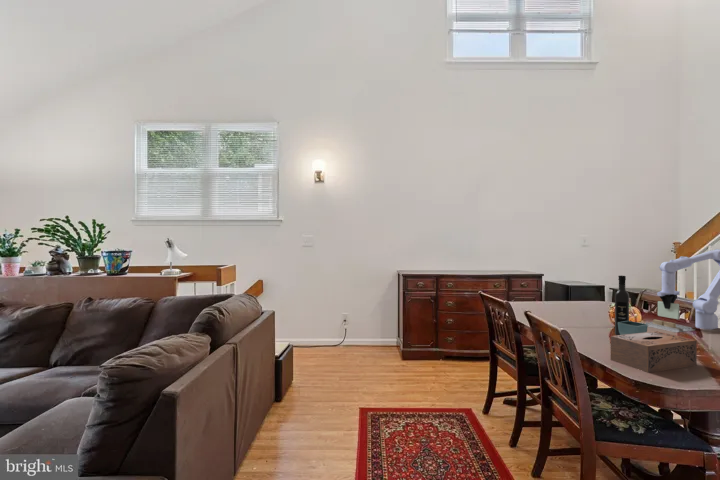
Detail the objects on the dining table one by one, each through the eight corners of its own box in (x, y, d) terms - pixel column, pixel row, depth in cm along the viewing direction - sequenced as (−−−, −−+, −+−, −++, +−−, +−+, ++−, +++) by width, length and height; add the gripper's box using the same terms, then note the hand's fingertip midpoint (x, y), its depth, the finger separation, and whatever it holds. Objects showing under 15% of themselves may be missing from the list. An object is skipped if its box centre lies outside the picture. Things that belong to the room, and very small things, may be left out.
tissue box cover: (656, 354, 155) (656, 331, 155) (696, 366, 142) (696, 340, 142) (610, 360, 148) (610, 336, 148) (647, 373, 134) (647, 346, 134)
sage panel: (659, 315, 206) (659, 301, 206) (679, 319, 196) (679, 304, 196) (657, 315, 205) (657, 301, 205) (677, 319, 196) (677, 304, 196)
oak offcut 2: (666, 328, 195) (666, 321, 195) (675, 330, 191) (675, 323, 191) (663, 328, 195) (663, 321, 194) (673, 330, 190) (673, 323, 190)
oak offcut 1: (655, 325, 200) (655, 319, 200) (664, 327, 196) (664, 321, 196) (652, 326, 200) (652, 319, 200) (661, 328, 195) (661, 321, 195)
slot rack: (662, 325, 206) (662, 320, 206) (695, 332, 191) (695, 327, 191) (643, 327, 202) (643, 322, 202) (675, 334, 186) (675, 329, 186)
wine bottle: (628, 336, 182) (628, 276, 182) (614, 335, 186) (614, 275, 185) (629, 334, 187) (629, 275, 186) (615, 332, 190) (615, 275, 190)
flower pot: (616, 340, 175) (616, 322, 175) (627, 338, 179) (627, 320, 179) (637, 345, 167) (637, 326, 167) (648, 343, 171) (648, 324, 171)
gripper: (669, 282, 206) (669, 306, 207) (651, 283, 202) (651, 308, 202) (683, 283, 200) (683, 308, 200) (665, 285, 195) (665, 310, 195)
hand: (668, 308), depth 201 cm, fingers closed on sage panel, 1 cm apart
